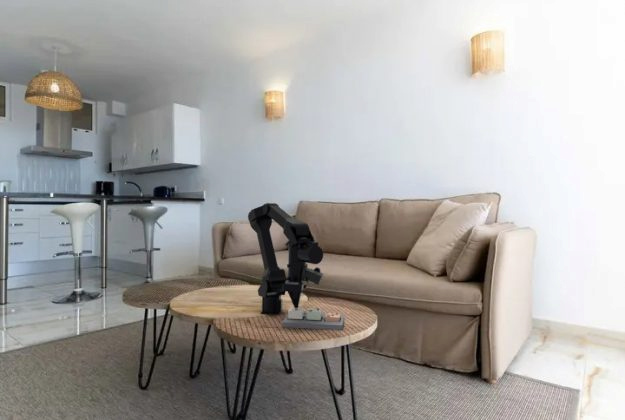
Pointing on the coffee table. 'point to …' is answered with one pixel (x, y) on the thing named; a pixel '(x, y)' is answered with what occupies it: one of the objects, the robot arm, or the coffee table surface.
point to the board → (313, 323)
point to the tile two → (314, 314)
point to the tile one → (296, 313)
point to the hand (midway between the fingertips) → (296, 307)
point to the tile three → (332, 317)
